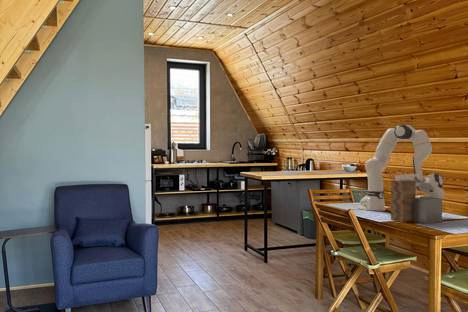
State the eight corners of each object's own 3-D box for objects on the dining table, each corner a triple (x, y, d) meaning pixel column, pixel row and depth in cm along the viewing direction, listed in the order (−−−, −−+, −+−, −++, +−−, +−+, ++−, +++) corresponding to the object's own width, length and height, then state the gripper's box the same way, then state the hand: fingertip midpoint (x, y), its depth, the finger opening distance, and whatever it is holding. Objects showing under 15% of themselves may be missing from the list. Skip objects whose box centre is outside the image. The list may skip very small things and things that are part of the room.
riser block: (413, 221, 281) (413, 198, 281) (428, 219, 287) (429, 196, 287) (426, 224, 272) (426, 199, 271) (441, 222, 278) (442, 198, 277)
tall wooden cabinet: (389, 219, 288) (390, 180, 288) (403, 218, 293) (403, 179, 293) (402, 222, 278) (403, 181, 278) (416, 220, 284) (416, 180, 283)
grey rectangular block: (395, 180, 285) (395, 175, 284) (417, 179, 293) (417, 174, 293) (399, 180, 281) (399, 175, 281) (421, 179, 290) (421, 174, 290)
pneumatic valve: (421, 211, 321) (421, 195, 321) (412, 209, 333) (412, 193, 332) (428, 211, 322) (428, 195, 322) (419, 209, 334) (419, 193, 333)
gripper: (415, 180, 304) (402, 171, 299) (440, 183, 286) (427, 173, 280) (412, 188, 303) (399, 179, 298) (437, 191, 285) (423, 181, 279)
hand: (413, 176), depth 289 cm, fingers closed on grey rectangular block, 3 cm apart
